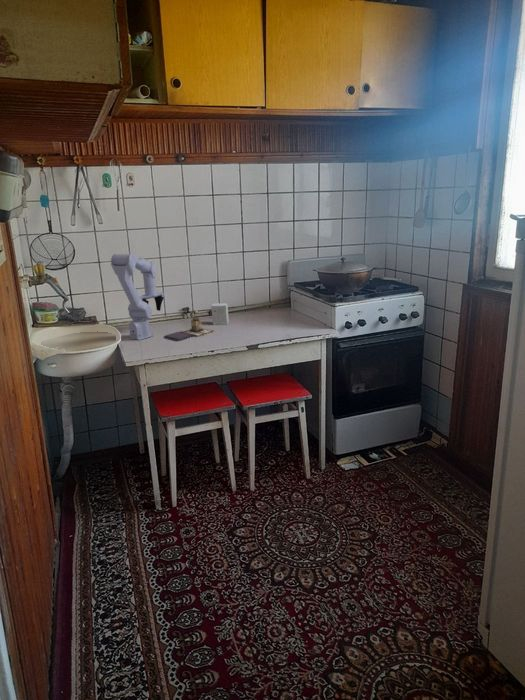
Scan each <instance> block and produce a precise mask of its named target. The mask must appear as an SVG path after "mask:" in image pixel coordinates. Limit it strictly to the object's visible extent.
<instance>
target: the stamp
mask: <svg viewBox="0 0 525 700" xmlns="http://www.w3.org/2000/svg"><path fill="white" fill-rule="evenodd" d="M190 325H191V327H190V328H192V329H190V328H189V329H190V332H195V333H198V332H201V331H204V329H205V328H204V327H202V320H201V319H200V317H196V316H195V317H192V320H190ZM203 328H204V329H203Z"/></svg>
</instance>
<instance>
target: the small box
mask: <svg viewBox="0 0 525 700" xmlns="http://www.w3.org/2000/svg"><path fill="white" fill-rule="evenodd" d="M210 308H211V317H212V318H211V319H212V325H213V326H215V325H216V326H217V324H218V326H219V324H226V325H228V324H229V320H230V319H229V306H228V303H223V302H221V303H212V304H211V307H210Z"/></svg>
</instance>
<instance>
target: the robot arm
mask: <svg viewBox="0 0 525 700" xmlns="http://www.w3.org/2000/svg"><path fill="white" fill-rule="evenodd" d="M110 266H111V268H112V270H113V272H114V274H115V275H116V276H117V279H118V281H119V283H120V285H121V287H122V289H123V291H124V293H125V296H126V297H127V299H128V302H129V305H128V307H127V310H128V311H127V312H128V314H129V315H128V316H129V317H130V318H131V320H132V321H130V322H129V324H128V331H129V339H133V340H136V341H141V340H145V339H147V338H151V337H154V336H155V334H153V333H151V329H150V319H151V317H152V314H153V312H152V311H153V310H152V307H151V306H150V305H149V302H150V301H149V299H154V302H155V307H156V308H155V309H156V310H157V311H158V312H160V311H161V308H162V305H163V304H162V303H163V300H164V295H165V294H164V292H163V291H159V292H157V287H156V286H157V284H156V273H157V272H156V271H157V267H156V264H155V263H153V261H151V262H150V261H148V260H147V259H145V258H144V257H136V255H135V254H134V253H126V254H125V253H123V254H121V253H119V254H117V253H113V254H112V256H111V258H110ZM135 270H137V271H139V272H140V273H141V274H142V276H143V285H144V286H143V287H144V294H142V295H140V294H139V291H138V290H137V287H136V286H135V284H134V281H133V279H132V277H131V276H133V275H134V273H135Z"/></svg>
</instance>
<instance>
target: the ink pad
mask: <svg viewBox="0 0 525 700" xmlns="http://www.w3.org/2000/svg"><path fill="white" fill-rule="evenodd" d="M190 337H191V338H194V336H193V335H190V334H185V333H181V332H180V331H175V332H173V333H168V334H166V335H164V336H163V338H164V339H167V338H168V339H167V340H171V339H172V341H175V340H176V342H180V341H184V340H187V338H188V339H190Z"/></svg>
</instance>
